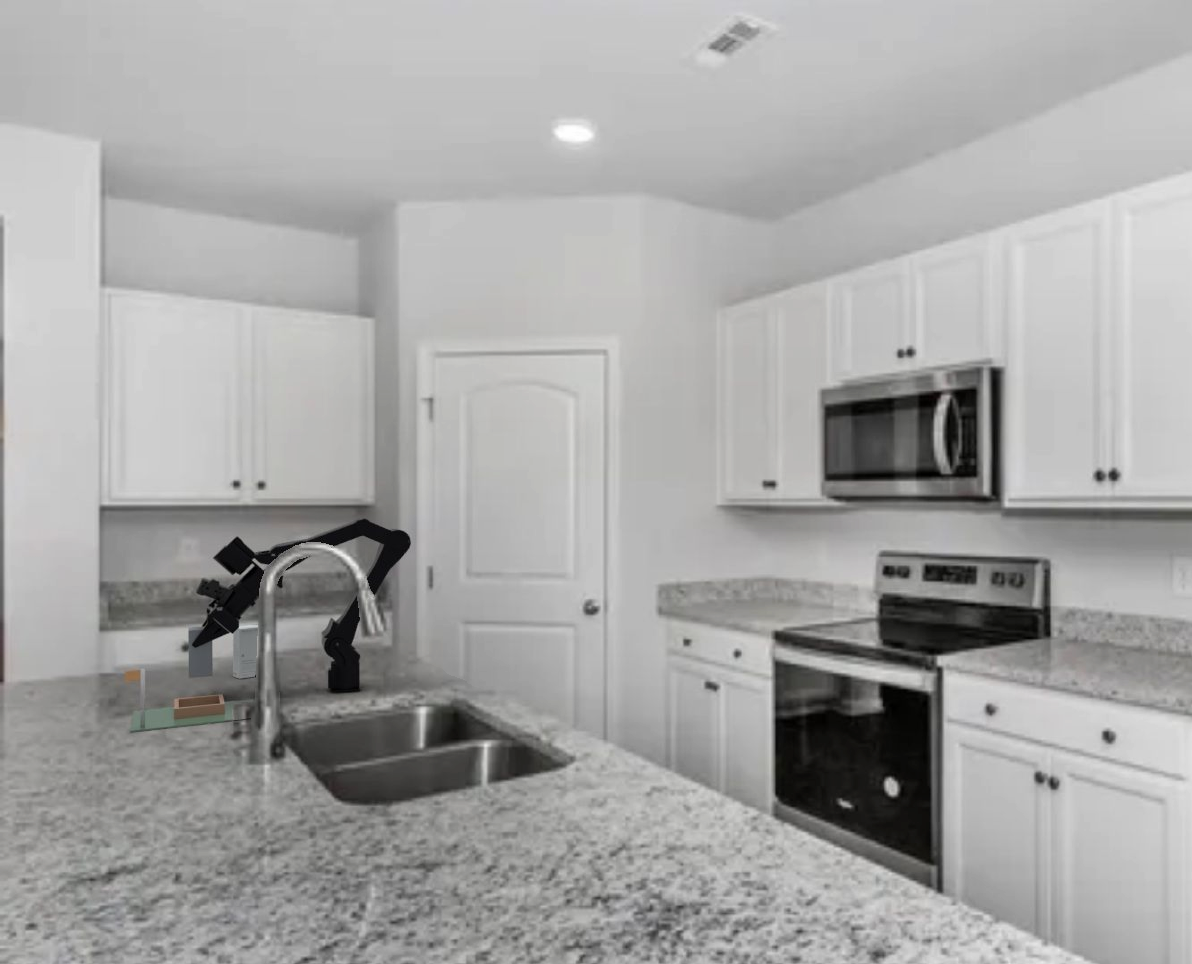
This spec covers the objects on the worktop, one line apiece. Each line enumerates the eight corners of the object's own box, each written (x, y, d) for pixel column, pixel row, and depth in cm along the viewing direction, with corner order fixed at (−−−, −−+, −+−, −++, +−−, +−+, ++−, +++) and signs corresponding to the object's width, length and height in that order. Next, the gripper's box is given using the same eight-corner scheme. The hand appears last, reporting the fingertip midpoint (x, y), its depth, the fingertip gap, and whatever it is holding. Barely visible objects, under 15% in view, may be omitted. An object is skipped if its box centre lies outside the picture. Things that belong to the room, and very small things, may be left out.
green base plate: (259, 699, 190) (259, 647, 190) (266, 717, 175) (266, 660, 175) (128, 713, 179) (128, 657, 179) (124, 732, 164) (124, 672, 165)
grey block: (212, 671, 191) (211, 625, 191) (212, 675, 186) (212, 628, 186) (188, 673, 189) (188, 627, 189) (188, 678, 185) (188, 630, 185)
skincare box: (239, 679, 210) (239, 628, 210) (232, 676, 213) (232, 626, 213) (264, 675, 214) (264, 625, 214) (257, 672, 217) (257, 623, 217)
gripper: (218, 561, 198) (164, 613, 193) (221, 568, 181) (162, 626, 176) (256, 594, 201) (203, 646, 196) (262, 604, 184) (205, 661, 179)
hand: (193, 644), depth 187 cm, fingers closed on grey block, 5 cm apart
